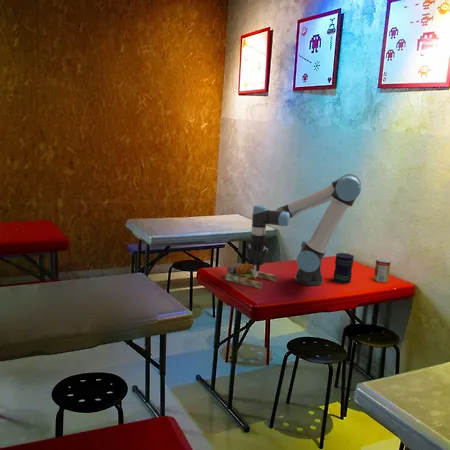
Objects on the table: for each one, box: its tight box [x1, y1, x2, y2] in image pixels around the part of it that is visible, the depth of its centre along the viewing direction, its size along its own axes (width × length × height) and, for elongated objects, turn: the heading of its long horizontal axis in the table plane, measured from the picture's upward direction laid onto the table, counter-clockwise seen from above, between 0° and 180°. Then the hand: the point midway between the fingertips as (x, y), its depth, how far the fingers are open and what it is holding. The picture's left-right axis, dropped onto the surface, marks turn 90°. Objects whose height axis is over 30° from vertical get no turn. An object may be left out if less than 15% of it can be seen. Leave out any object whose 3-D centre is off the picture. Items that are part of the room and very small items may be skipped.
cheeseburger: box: [235, 262, 257, 281], centre depth 272 cm, size 10×11×10 cm
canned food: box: [373, 257, 391, 283], centre depth 286 cm, size 8×8×12 cm
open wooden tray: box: [224, 262, 277, 290], centre depth 271 cm, size 23×18×6 cm
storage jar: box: [332, 252, 355, 285], centre depth 279 cm, size 10×10×15 cm
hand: (255, 276), depth 269 cm, fingers closed
